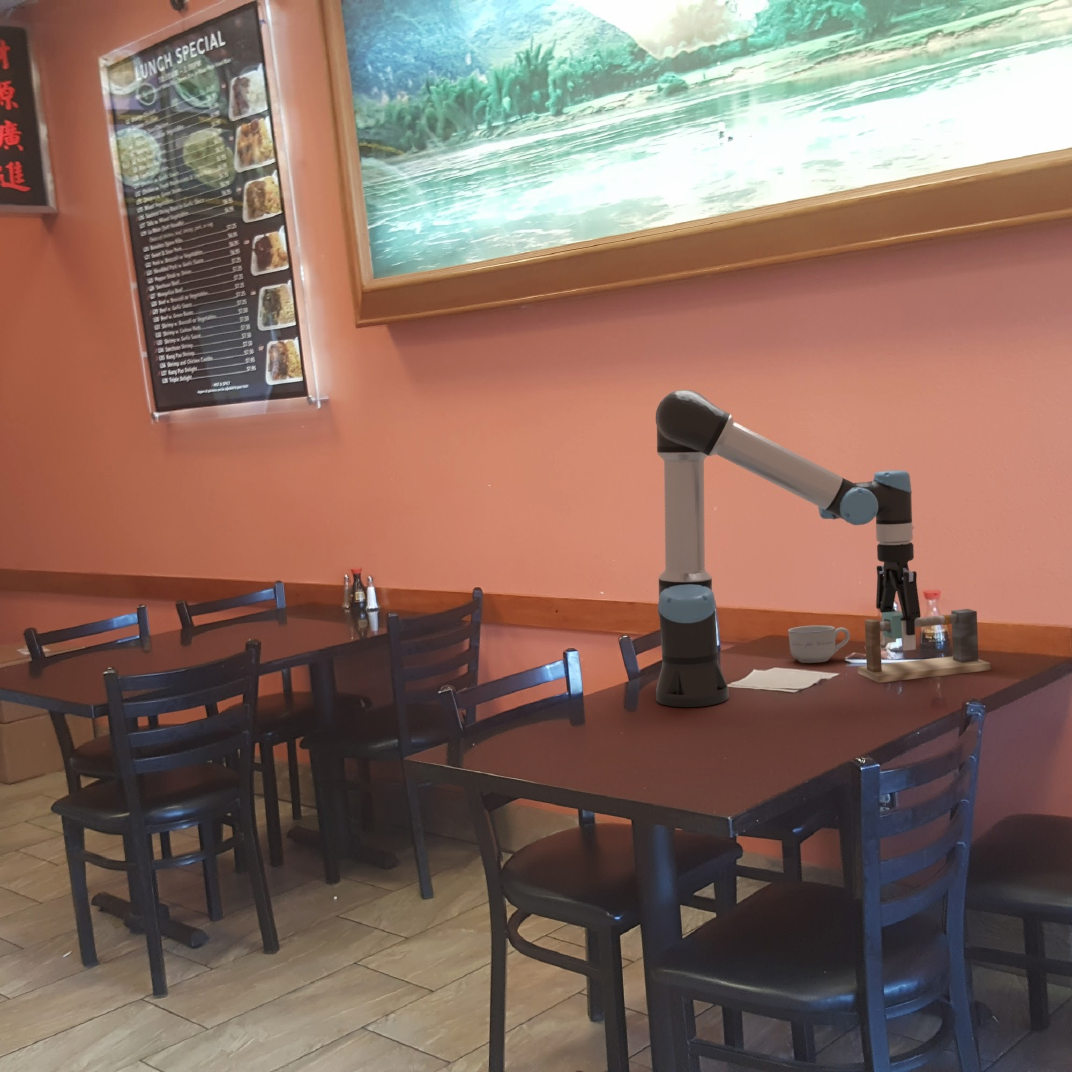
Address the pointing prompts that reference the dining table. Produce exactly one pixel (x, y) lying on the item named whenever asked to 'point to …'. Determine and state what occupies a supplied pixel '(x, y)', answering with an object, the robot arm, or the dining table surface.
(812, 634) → the teacup
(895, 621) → the sleeve
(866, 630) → the rod stand
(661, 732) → the dining table surface
